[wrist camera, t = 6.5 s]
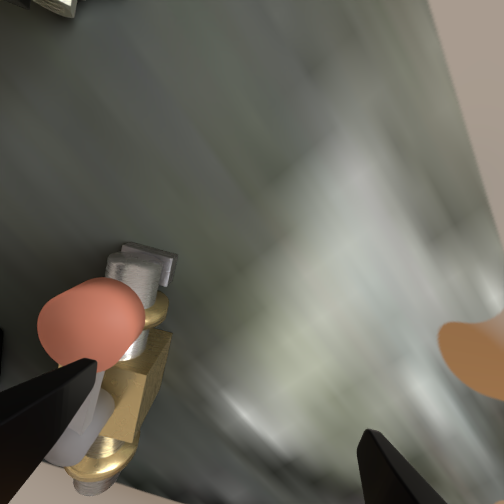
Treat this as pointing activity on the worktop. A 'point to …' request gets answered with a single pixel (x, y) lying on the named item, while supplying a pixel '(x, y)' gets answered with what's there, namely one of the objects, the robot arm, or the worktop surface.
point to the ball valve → (51, 6)
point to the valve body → (130, 368)
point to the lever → (89, 351)
